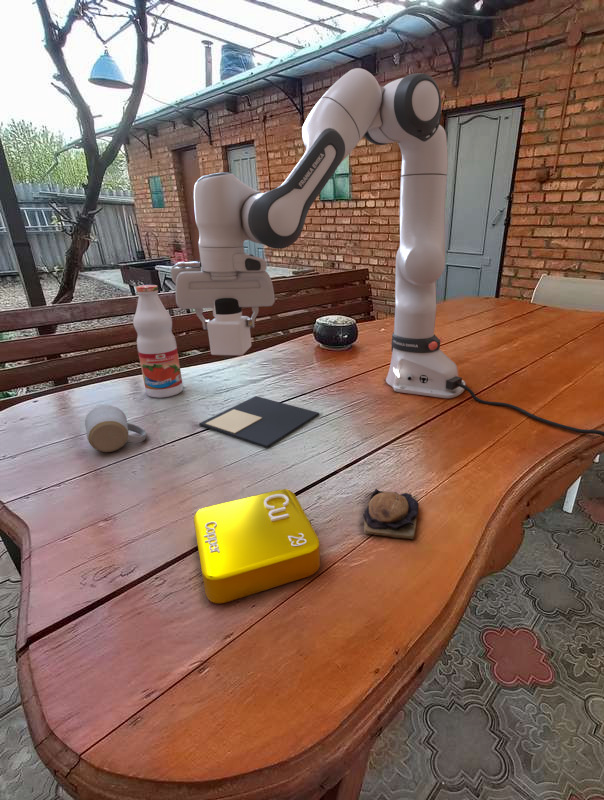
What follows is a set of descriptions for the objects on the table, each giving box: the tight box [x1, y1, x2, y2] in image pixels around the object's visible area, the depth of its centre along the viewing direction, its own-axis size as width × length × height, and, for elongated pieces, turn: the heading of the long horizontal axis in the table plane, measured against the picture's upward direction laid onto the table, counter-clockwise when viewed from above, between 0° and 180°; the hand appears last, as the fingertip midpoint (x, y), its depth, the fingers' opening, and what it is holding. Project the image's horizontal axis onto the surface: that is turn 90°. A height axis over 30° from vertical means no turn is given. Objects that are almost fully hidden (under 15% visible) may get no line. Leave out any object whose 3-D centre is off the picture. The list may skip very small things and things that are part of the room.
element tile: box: [193, 488, 321, 604], centre depth 59 cm, size 15×15×5 cm
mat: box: [198, 395, 320, 449], centre depth 99 cm, size 20×19×1 cm
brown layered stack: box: [362, 488, 419, 540], centre depth 67 cm, size 11×8×4 cm
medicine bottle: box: [207, 298, 252, 356], centre depth 92 cm, size 7×7×12 cm
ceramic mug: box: [84, 404, 147, 453], centre depth 87 cm, size 11×8×8 cm
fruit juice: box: [132, 284, 184, 399], centre depth 110 cm, size 9×9×28 cm
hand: (229, 327), depth 93 cm, fingers closed on medicine bottle, 8 cm apart
